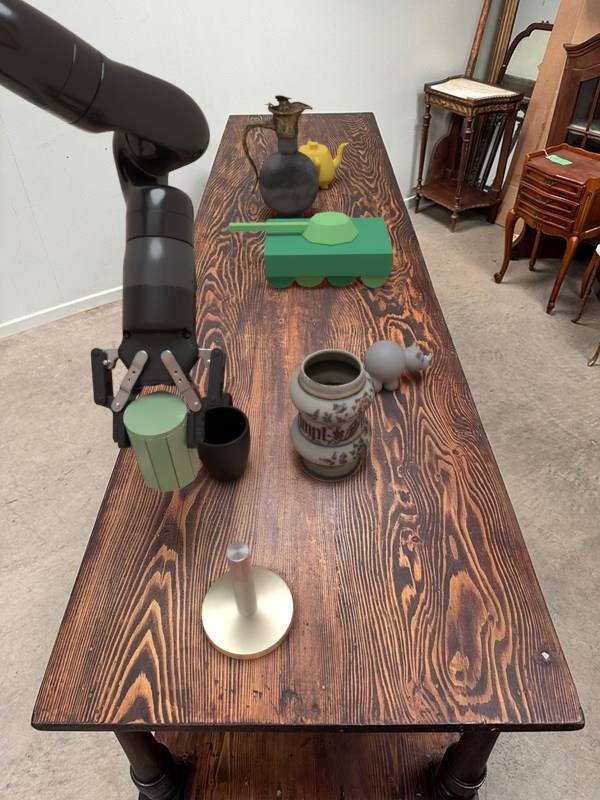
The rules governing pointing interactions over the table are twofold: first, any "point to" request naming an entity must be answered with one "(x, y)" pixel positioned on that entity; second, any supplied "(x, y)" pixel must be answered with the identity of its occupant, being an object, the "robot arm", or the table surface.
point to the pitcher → (285, 164)
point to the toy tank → (324, 250)
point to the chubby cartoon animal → (392, 362)
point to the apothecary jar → (331, 414)
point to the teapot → (323, 161)
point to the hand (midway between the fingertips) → (159, 447)
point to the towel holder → (247, 608)
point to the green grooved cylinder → (161, 440)
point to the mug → (225, 441)
